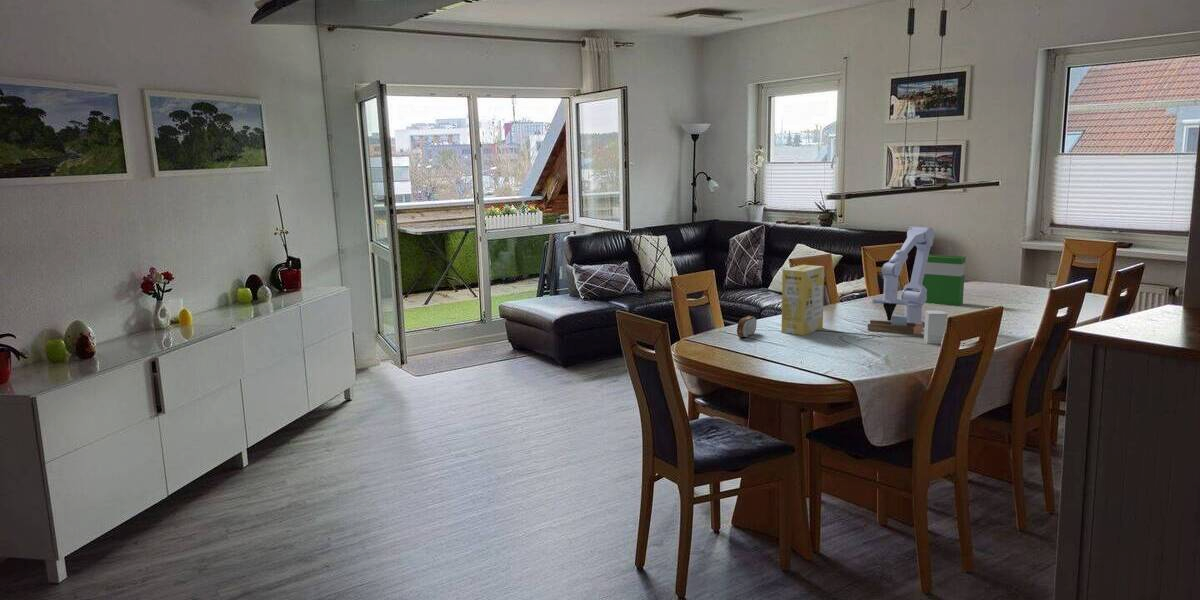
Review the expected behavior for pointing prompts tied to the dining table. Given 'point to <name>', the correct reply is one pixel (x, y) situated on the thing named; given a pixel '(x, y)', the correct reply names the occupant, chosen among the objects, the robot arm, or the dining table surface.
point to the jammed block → (899, 320)
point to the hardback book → (945, 279)
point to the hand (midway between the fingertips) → (889, 320)
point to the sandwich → (746, 326)
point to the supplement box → (934, 326)
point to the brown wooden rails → (895, 327)
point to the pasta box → (802, 299)
